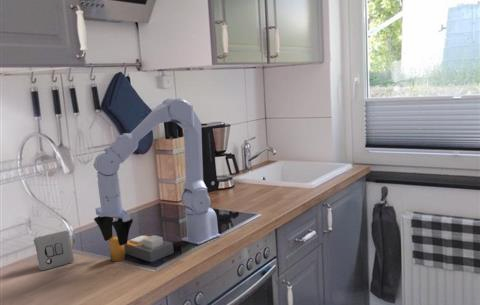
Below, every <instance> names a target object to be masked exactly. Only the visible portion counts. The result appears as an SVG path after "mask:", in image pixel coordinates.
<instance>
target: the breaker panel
mask: <svg viewBox="0 0 480 305" xmlns="http://www.w3.org/2000/svg"><path fill="white" fill-rule="evenodd" d="M141 236H145V237H150V236H149V235H144V234H143V235H141ZM130 240H131V239H128V241H127V244H124V249H125V255H128V256H131V257H134V258H136V259H140V260H144V261H146V262H149V263H154V262H155V261H158V260H161V259H163V258H165V257H167V256H169V255H172V254H174V253H175V251H174V243H173V242H172V241H171V242H170V241H166V240H164V239H163V245H161V246H159V247H156V248H154V249H150V248H146V247H144V245H143V243H141V244H138V245H136V244H133V243H131V241H130Z"/></svg>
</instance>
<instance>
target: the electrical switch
mask: <svg viewBox="0 0 480 305" xmlns="http://www.w3.org/2000/svg"><path fill="white" fill-rule="evenodd" d="M33 243H34V246H35V251H36V256H37V262H38V268H39V270H40V271H45V270H50V269H53V268H57V267H60V266H63V265H68V264H72V263H73V262H74V261H75V257H74V252H73V248H72V242H71V238H70V233H69V231H68V230H63V231H59V232H53V233H49V234H46V235H42V236H41V235H40V236H37V237H34V239H33ZM48 261H49V262H48Z"/></svg>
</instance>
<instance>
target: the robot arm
mask: <svg viewBox="0 0 480 305" xmlns="http://www.w3.org/2000/svg"><path fill="white" fill-rule="evenodd" d="M168 122H173V123H175V124H177V125H178V126H179V127H180V128H181V129H183V138H184V160H185V161H184V163H185V164H184V166H185V167H184V168H185V182H184V184H183V190H182V192H181V196H180V201H181V203H182V205H183V206H184V207H185V208H184V209H185V210H184V215H185V224H186V225H185V226H186V233H187V236H185V237H182V238H181V241H183V242H186V243H189V244H194V245H202V244H204V243H207V242H209V241H210V240H213V239H215V238H217V237H220V236H221V234H220V233H219V228H218V227H219V226H218V217H217V213H216V211H215V210H214V209H213V208H212V207H210V206H211V198H210V195H209V193H208V187H207V186H206V184H205V182H204V166H203V142H202V140H203V137H202V134H203V133H202V122H201V119H200V118H199V117H198V114H197V113H196V111H195V110H194V106H193V104H191V103H190V102H189V101H188V100H186V99H185V98H179V97H178V98H167V99H165V100H163V101H162V102H161V103H160V104H158V105H157V106H156V107H155V108H154V109H152V110H151V112H149V113H148V115H146V116H145V118H143V119H142V121H141V122H140V123H139V124H138V125H137V126H136V127H135V128H134V129H133V130H132V131H131V132H129V133H127V132H126V133H125V132H124V133H122V134H118V135H117V136H116V137H115V138H116V139H115V141H114V142H113V143H111V144H110V145H108V147H105V148H104V149H103V151H104V152H102V153H99V154H97V156H96V157H95V158H94V162H93V168H94V169H95V170H96V171H97V172H96V174H97V176H96V177H97V187H98V195H99V201H100V202H99V203H100V206H99V207H96V208H95V209H94V210H95V215H96V216H95V217H94V218H93V221H94V222H95V223H96V224H97V226H98V228H99V230H100V232H101V235H102V237H103V239H104V241H106V242H107V241H109V239H110V238H112V237H113V229H114V230H115V233H116V236H117V238H118V242H119V245H121V246H122V245H124V244H127V241H129V233H130V229H131V226H132V224H133V218H131V213H129V212H127V211H126V210H125V209H124V208H123V204H122V202H123V201H122V193H121V187H120V178H119V173H118V171H119V169H120V164H123V163H124V162H125V161H126V160H127V159H128V158H129V157H130V156H131V155H132V154H133V153H135V151H137V149H138V148H139V142H140V141H141V140H142V139H143V138H144V137H145V136H147V134H148V135H149V133H150V132H151V131H152V130H153V129H154V128H156V127H157V126H158V125H159V124H162V123H168ZM114 219H117V220H116V221H114Z"/></svg>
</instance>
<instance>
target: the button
mask: <svg viewBox="0 0 480 305" xmlns="http://www.w3.org/2000/svg"><path fill="white" fill-rule="evenodd" d="M163 240H164V237H162V236H159V235H151V236H149V237H148V238H145V239H143V245H144V247H146V248H150V249H154V248H156V247H159V246H161V245H163Z"/></svg>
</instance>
